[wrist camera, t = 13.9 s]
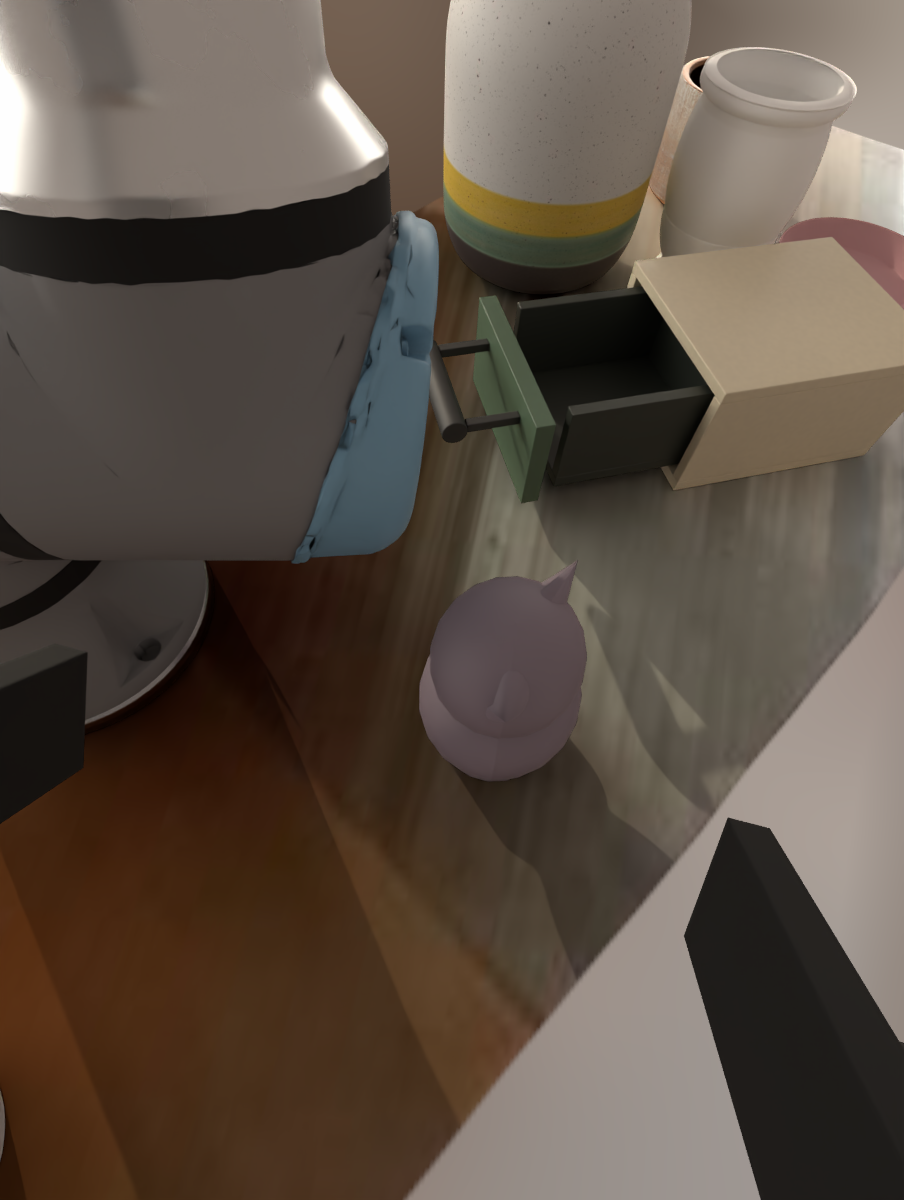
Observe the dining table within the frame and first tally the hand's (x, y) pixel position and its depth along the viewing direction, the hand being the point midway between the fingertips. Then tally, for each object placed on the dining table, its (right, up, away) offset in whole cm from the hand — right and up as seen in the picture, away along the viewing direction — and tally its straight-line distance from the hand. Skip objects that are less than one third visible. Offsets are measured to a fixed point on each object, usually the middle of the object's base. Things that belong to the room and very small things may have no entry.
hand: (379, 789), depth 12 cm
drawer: (+9, +16, +32) cm, 37 cm away
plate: (+38, +33, +44) cm, 67 cm away
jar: (+24, +33, +43) cm, 59 cm away
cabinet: (+23, +19, +34) cm, 45 cm away
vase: (+9, +36, +44) cm, 57 cm away
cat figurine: (+4, -3, +21) cm, 22 cm away
